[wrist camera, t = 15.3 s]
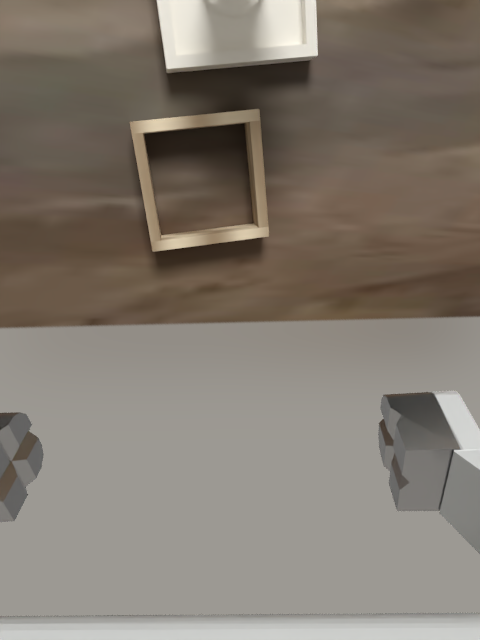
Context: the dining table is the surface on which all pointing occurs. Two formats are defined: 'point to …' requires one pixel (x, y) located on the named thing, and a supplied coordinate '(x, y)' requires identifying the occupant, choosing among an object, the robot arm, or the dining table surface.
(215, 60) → the tray
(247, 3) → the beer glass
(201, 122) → the holder
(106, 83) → the dining table surface
